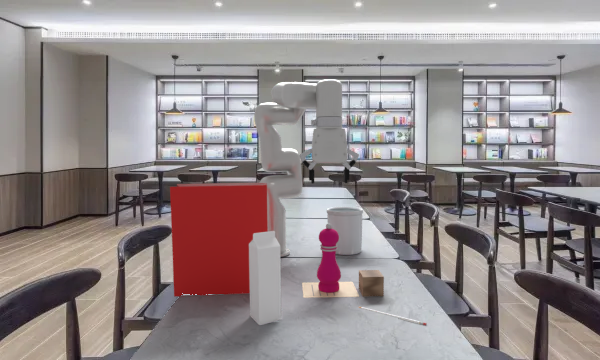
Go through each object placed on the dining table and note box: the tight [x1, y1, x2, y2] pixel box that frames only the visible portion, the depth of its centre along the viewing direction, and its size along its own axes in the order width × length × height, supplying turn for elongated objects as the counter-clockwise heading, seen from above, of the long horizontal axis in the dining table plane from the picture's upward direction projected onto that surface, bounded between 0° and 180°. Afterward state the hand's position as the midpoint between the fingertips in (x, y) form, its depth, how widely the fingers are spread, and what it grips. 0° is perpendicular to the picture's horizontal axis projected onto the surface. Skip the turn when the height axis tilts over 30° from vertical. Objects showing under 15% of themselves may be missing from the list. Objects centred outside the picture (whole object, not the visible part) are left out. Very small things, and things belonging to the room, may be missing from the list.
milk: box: [249, 231, 282, 326], centre depth 94 cm, size 6×6×22 cm
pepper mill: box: [316, 222, 342, 293], centre depth 112 cm, size 7×7×20 cm
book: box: [169, 182, 268, 297], centre depth 113 cm, size 27×8×32 cm, turn 95°
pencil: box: [358, 306, 427, 326], centre depth 96 cm, size 1×19×1 cm, turn 56°
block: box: [358, 269, 385, 298], centre depth 110 cm, size 6×6×6 cm
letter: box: [301, 281, 360, 299], centre depth 113 cm, size 16×12×1 cm
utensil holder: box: [326, 206, 364, 256], centre depth 155 cm, size 15×15×18 cm
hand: (329, 182), depth 110 cm, fingers open, 9 cm apart
